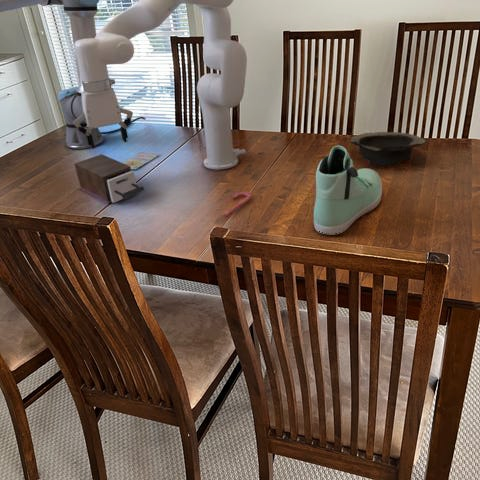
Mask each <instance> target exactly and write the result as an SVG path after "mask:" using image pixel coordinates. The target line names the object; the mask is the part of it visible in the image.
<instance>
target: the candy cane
mask: <svg viewBox="0 0 480 480" xmlns="http://www.w3.org/2000/svg"><path fill="white" fill-rule="evenodd" d="M240 197H245V198H243V199H242V200H240V201H238V203H236V204H235V205H234V206H232V207H231V208H229V209H228V210H226V211H225V212H224V213H223V216H224V217H225V218H226V217H229V216H230V215H232V214H233V213H235V212H236V211H237V210H239V209H240V208H241V207H243V206H245V205H246V204H248V203H249V202H250V201H252V198H253V195H252V194H251V193H250V192H247V191H238V192H235V193H234V194H233V195H232V200H236V199H238V198H240Z"/></svg>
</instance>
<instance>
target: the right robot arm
mask: <svg viewBox="0 0 480 480" xmlns="http://www.w3.org/2000/svg"><path fill="white" fill-rule="evenodd" d="M233 2H234V0H137V1H136V2H135V3H133V4H132V5H130V6H128V8H125V9H124V10H123V11H122V12H120V13H119V14H117V15H116V16H115V17H113V18H111V20H110V21H108V22H107V23H106V24H105V25H104V26H103V28H101V29H100V30H99V32H97V33H96V37H95V38H87V39H81V40H78V41H76V42H75V44H73V50H74V49H75V51H74V55H75V54H76V58H77V62H78V67H79V71H80V76H81V80H82V85H83V89H84V92H82V93H81V97H82V106H83V112H84V113H83V114H82V115H81V116H79V117H78V118H77V119H75V120H74V121H73V124H74V125H75V126H76V127H77V129H78V130H79V131H80V132H82V133H84V134H85V135H86V137H87V141H88V145H89V146H90V145H91V149H92V150H94V149H95V147H96V146H94V142H93V138H92V135H91V131H92V130H93V128H98V129H99V128H104V127H110V126H114V125H119V126H120V130H119V131H120V135H121V140H122V141H123V142H124V143H127V142H128V141H127V139H129V134H128V127H129V126H130V125H129V123H130V122H131V121H132V118H133V115H134V113H133V111H132V110H130V109H127V108H124V107H120V105H119V101H118V98H117V95H116V92H115V90H114V88H113V87H112V86H113V85H115V84H116V79H115V78H110V76H109V71H108V65H123V64H126V63H129V62H130V61H131V60H132V59H133V57H134V54H135V47H134V44H133V42H132V41H131V40H132V39H133V38H134V37H136V36H138V35H141V34H143V33H147V32H150V31H153V30H155V29H157V28H159V27H160V26H161V25H162V24H163V23H164V22H165V21H166V20H167V19H168V18H169V17H170V15H172V13H174V11H176V10H177V8H179V6H180V5H182V4H188V5H189V4H190V5H196V6H197V8H198V9H199V11H200V12H201V15H202V17H203V21H204V34H203V50H202V58H203V59H202V60H203V64H205V66H207V67H208V68H209V69H212V70H216V71H220V73H212V72H210V73H206V74H204V75H202V76H201V77H199V80H198V81H197V84H196V93H197V97H198V101H199V104H200V109H201V113H202V121H203V130H204V139H205V149H206V150H205V151H206V158H205V159H204V160H203V166H204V168H206V169H209V170H213V171H217V170H218V171H221V170H222V171H223V170H226V169H231V168H233V167H235V166H237V165H238V163H239V158H238V157H239V156H243V155H246V154H247V151H246V149H245V148H242V149H240V148H239V147H238V148H235V149H234V146H233V133H232V120H231V112H230V109H232V108H236V107H237V106H239V105H240V103H241V102H242V99H243V98H244V94H245V93H244V92H245V86H246V77H247V75H246V74H247V63H248V58H247V52H246V49H245V47H244V46H243V45H242V43H240V42H239V41H236V40H234V39H233V40H232V39H231V38H232V17H231V14H230V11H229V9H228V7H229V6H231V5H232V4H233ZM76 58H75V59H76ZM122 114H124V115H126V117H125V118H124V120H123V117H122V116H123V115H122ZM83 120H85V121H86V124H88V125H87V126H86V128H83V127H82V126H81V125H80V123H81V122H82V121H83ZM128 125H129V126H128ZM127 126H128V127H127Z"/></svg>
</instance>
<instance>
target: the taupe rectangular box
mask: <svg viewBox="0 0 480 480" xmlns="http://www.w3.org/2000/svg"><path fill="white" fill-rule="evenodd" d="M73 164H74V168H75V172H76V176H77V180H78V182H79V183H78V184H79V187H80V190H82V191H83V192H85V193H86V194H89V195H91V196H92V197H95V198H97V199H98V200H100V201H102V202H104V203H106V204H108V205H110V204H113V202H112V201H111V198H110V196H109V192H108V188H107V184H106V178H109V177H112V176H114V175H117V174H119V173H122V172H125V171H127V172H130V171H132V169H131V167H130V166H128V165H126V164H124V163H123V162H121V161H119V160H116V159H114V158H111V157H109V156H106V155H105V154H98V155H95V156H92V157H89V158H87V159H83V160H80V161H77V162H75V163H73Z"/></svg>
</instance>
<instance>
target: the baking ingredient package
mask: <svg viewBox="0 0 480 480" xmlns="http://www.w3.org/2000/svg"><path fill="white" fill-rule="evenodd" d="M158 156H159V154H151V153H143V152H140V153H137V154H136V155H134V156H132V157H130V158H129V159H127V160H125V161H124V162H122V163H124V164H126V165H128V166H130V167H131V170H137V169H139V168H140V167H142V166H143V165H145V164H147V163H148V162H150V161H153V160H154V159H156V158H157V157H158Z"/></svg>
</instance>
